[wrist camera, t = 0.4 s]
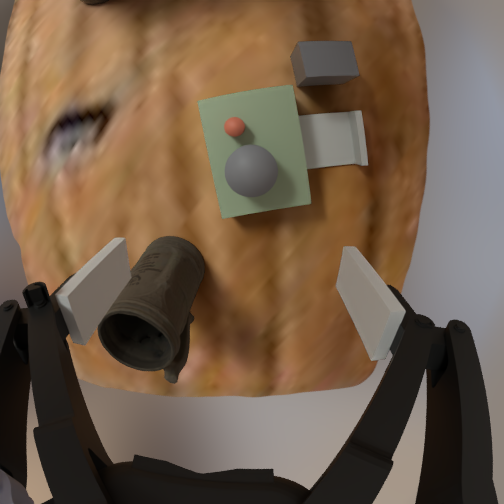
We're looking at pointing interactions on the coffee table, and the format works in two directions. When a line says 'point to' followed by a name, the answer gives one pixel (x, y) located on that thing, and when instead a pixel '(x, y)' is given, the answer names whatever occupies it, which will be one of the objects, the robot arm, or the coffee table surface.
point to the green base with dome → (273, 148)
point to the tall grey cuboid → (324, 63)
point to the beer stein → (155, 309)
